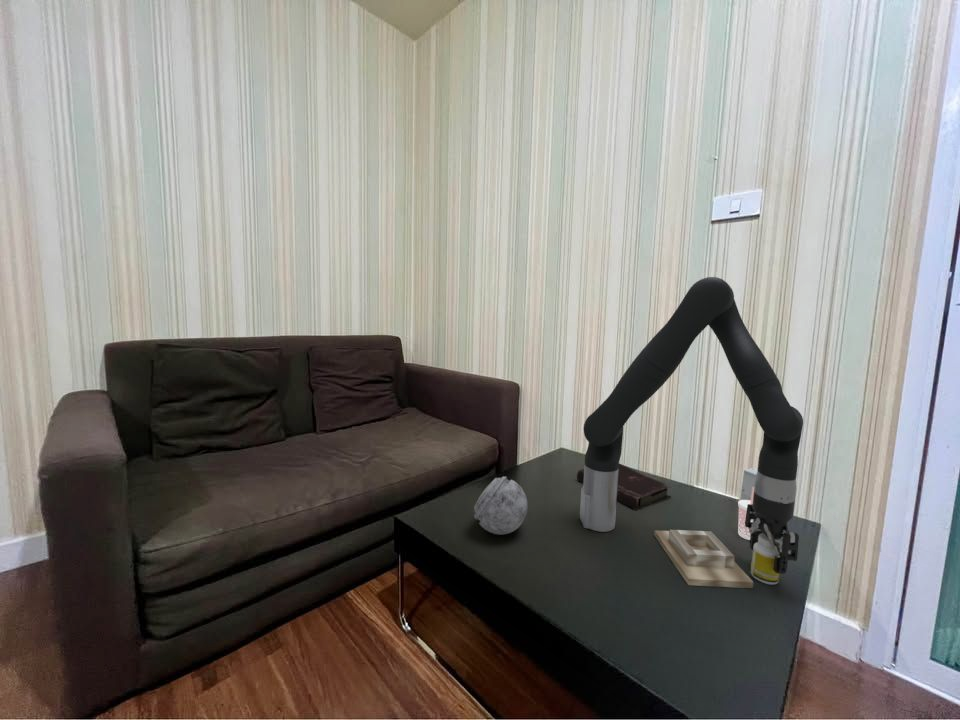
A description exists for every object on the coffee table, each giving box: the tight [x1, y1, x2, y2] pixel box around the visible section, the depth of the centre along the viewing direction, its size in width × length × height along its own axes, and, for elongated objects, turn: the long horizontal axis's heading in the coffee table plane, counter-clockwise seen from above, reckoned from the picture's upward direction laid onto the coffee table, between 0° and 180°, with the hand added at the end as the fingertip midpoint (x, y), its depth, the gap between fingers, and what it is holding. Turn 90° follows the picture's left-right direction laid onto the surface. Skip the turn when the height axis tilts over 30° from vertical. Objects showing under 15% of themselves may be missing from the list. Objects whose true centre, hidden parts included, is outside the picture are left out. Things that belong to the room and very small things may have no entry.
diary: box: [576, 463, 673, 511], centre depth 139 cm, size 19×25×5 cm
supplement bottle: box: [750, 534, 782, 586], centre depth 93 cm, size 5×5×10 cm
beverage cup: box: [737, 487, 754, 541], centre depth 110 cm, size 6×6×14 cm
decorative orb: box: [473, 476, 528, 536], centre depth 110 cm, size 15×14×15 cm
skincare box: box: [739, 467, 758, 500], centre depth 126 cm, size 6×4×12 cm
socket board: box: [653, 529, 754, 589], centre depth 100 cm, size 14×20×4 cm
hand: (766, 560), depth 93 cm, fingers open, 8 cm apart
